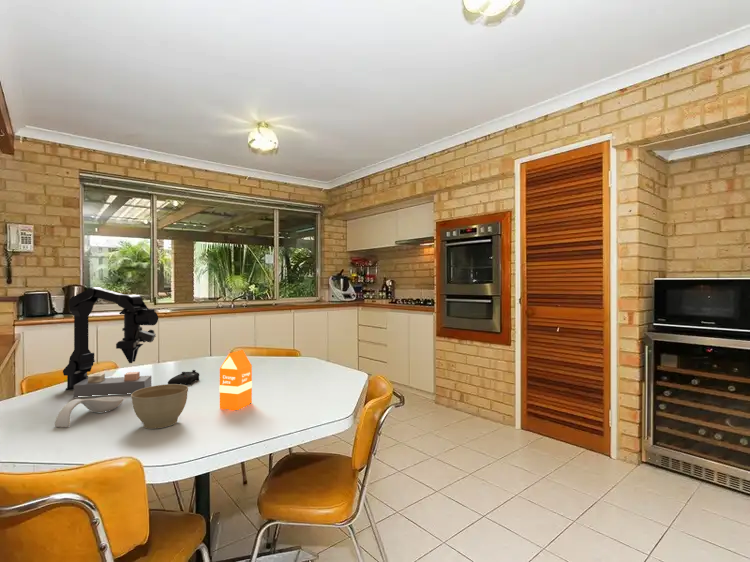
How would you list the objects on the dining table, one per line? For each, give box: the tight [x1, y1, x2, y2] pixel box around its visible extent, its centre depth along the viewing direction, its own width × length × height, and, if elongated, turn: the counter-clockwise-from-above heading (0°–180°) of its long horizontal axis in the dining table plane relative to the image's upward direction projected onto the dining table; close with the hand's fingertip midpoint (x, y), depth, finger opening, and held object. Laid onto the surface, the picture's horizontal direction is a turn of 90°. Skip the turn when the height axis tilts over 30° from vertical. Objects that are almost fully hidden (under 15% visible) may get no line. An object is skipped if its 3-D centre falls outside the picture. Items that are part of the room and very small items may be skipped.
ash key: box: [87, 373, 106, 383], centre depth 163 cm, size 4×4×4 cm
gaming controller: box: [167, 369, 200, 386], centre depth 181 cm, size 14×6×10 cm
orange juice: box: [219, 349, 253, 411], centre depth 146 cm, size 8×9×20 cm
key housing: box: [73, 375, 152, 398], centre depth 165 cm, size 25×10×5 cm, turn 105°
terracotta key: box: [123, 371, 141, 381], centre depth 167 cm, size 4×4×4 cm
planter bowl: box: [130, 383, 189, 430], centre depth 128 cm, size 16×16×11 cm
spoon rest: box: [54, 396, 125, 428], centre depth 137 cm, size 24×12×7 cm, turn 176°
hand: (132, 362), depth 167 cm, fingers open, 3 cm apart
